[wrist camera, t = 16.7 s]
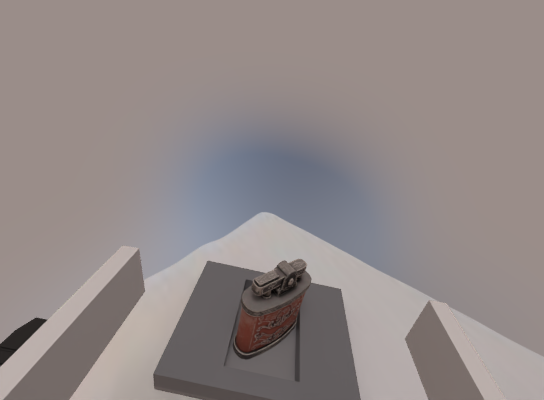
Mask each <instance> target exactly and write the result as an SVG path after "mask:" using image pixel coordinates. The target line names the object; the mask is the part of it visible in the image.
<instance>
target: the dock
mask: <svg viewBox="0 0 544 400" xmlns="http://www.w3.org/2000/svg"><path fill="white" fill-rule="evenodd" d="M263 274H265V273H263V272H258V271H253V270H249V269H244V268H239V267H235V266H230V265H225V264H221V263H216V262H211V261H207V263H206V266H205V268H204V270H203V272H202V274H201V276H200V278H199V280H198V282H197V284H196V286H195V288H194V290H193V293H192V295H191V297H190V299H189V301H188V303H187V305H186V307H185V309H184V311H183V313H182V315H181V318H180V320H179V322H178V324H177V326H176V328H175V330H174V332H173V334H172V336H171V338H170V340H169V342H168V345H167V347H166V349H165V351H164V353H163V355H162V357H161V359H160V361H159V363H158V365H157V367H156V370H155V372H154V374H153V375H154V388H155V389H157V390H162V391H167V392H171V393H176V394H181V395H185V396H190V397H194V398H199V399H204V400H361V399H360V394H359V388H358V382H357V377H356V371H355V366H354V360H353V354H352V349H351V343H350V338H349V332H348V326H347V321H346V315H345V310H344V304H343V298H342V293H341V289H338V288H333V287H328V286H324V285H319V284H314V283H311V284H310V287H309V288H308V290H307V291H306V292H305V295H304V298H303V301H302V303H301V306H300V309H299V312H298V315H297V317H296V318H297V322H296V325H295V328H294V329H293V330H292V332H291V333H290V334H289V335H288V336H287V337H286V338H285V339H284V340H282V341H281V342H280V343H279V344H278V345H276V346H275V347H273V348H272V349H270V350H268V351H266V352H265V353H263V354H261V355H258V356H256V357H253V358H251V359H248V360H244V359H241V358H239V357H238V356H237V355H236V354H235V352H234V350H233V342H234V338H235V335H236V334H237V330H238V325H239V320H240V315H241V309H242V306H241V299H242V294H243V292H244V291H245V290H246V289H248V288H249V287H250V286H252V283H253V280H254V279H255V278H257V277H259V276H261V275H263Z"/></svg>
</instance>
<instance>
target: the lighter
mask: <svg viewBox="0 0 544 400" xmlns="http://www.w3.org/2000/svg"><path fill="white" fill-rule="evenodd" d="M306 266H307V264H306V262H305V261H303V260H302V259H297V260H294V261H292V262H290V263H287V262H286V261H282V262H280V263H279V264H278V265H277V267H276V268H275V269H274V270H272V271H270V272H268V273H265V274H263V275H261V276H259V277H257V278H255V279H254V280H253V283H252V286H250V287H249V288H248V289H246V290H245V291H244V292H243V294H242V299H241V306H242V309H241V315H240V320H239V325H238V330H237V334H236V335H235V338H234V342H233V350H234V352H235V354H236V355H237V356H238V357H239V358H241V359H244V360H248V359H251V358H253V357H256V356H258V355H261V354H263V353H265V352H266V351H268V350H270V349H272V348H273V347H275V346H276V345H278V344H279V343H280V342H281V341H282V340H284V339H285V338H286V337H287V336H288V335H289V334H290V333H291V332H292V330H293V329H294V328H295V325H296V322H297V318H296V317H297V315H298V312H299V309H300V306H301V303H302V301H303V298H304V295H305V292H306V291H307V290H308V288H309V287H310V284H311V277H310V275H309V274H308V273H307V272H306V271H305V269H306Z"/></svg>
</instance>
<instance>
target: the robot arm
mask: <svg viewBox="0 0 544 400" xmlns="http://www.w3.org/2000/svg"><path fill="white" fill-rule="evenodd" d="M144 292H145V288H144V281H143V274H142V266H141V260H140V252H139V248H133V247H128V246H122V247H121V248H120V249H119V250H118V251H117V252H116V253H115V254H114V255H113V256H112V257H111V258H110V259H109V260H108V261H107V262H106V263H105V264H104V265H102V267H101V268H99V269H98V270H97V272H96V273H94V274H93V275H92V276H91V277H90V278H89V279H88V280H87V281H86V282H85V283H84V284H83V285H82V287H80V288H79V290H77V291H76V292H75V293H74V294H73V296H71V297H70V298H69V299H68V300H67V301H66V302H65V303H64V304H63V305H62V306H61V307H60V308H59V309H58V310H57V311H56V312H55V313H54V314H53V315H52V316H51V317H50V318H49V319H48V320H45V319H40V318H35V319H33V320H31V321H30V322H28V323H27V324H25V325H23V326H22V327H20V328H18V329H17V330H15V331H14V332H13V333H12V334H11V335H10V336H9V337H8V338H7V339H5V340H4V341H3V342H2V343H1V344H0V400H69V399H70V398H71V396H72V395H73V393H74V392H75V391H76V389H77V388H78V386H79V385H80V383H81V382H82V381H83V379H84V378H85V376H86V375H87V373H88V372H89V371H90V369H91V368H92V366H93V365H94V363H95V362H96V361H97V359H98V358H99V356H100V355H101V353H102V352H103V351H104V349H105V348H106V346H107V345H108V343H109V342H110V341H111V339H112V338H113V336H114V335H115V333H116V332H117V331H118V329H119V328H120V326H121V325H122V323H123V322H124V321H125V319H126V318H127V316H128V315H129V313H130V312H131V311H132V309H133V308H134V306H135V305H136V303H137V302H138V301H139V299H140V298H141V296H142V295H143V293H144ZM405 340H406V343H407V345H408V348H409V350H410V353H411V355H412V358H413V361H414V363H415V366H416V368H417V371H418V374H419V376H420V379H421V381H422V384H423V387H424V389H425V392H426V394H427V397H428V399H429V400H506V398H505V396H504V395H503V393H502V392H501V390H500V388H499V387H498V385H497V384H496V382H495V380H494V379H493V377H492V376H491V374H490V372H489V371H488V369H487V368H486V366H485V364H484V363H483V361H482V359H481V358H480V356H479V355H478V353H477V351H476V350H475V348H474V347H473V345H472V343H471V342H470V340H469V339H468V337H467V335H466V334H465V332H464V331H463V329H462V327H461V326H460V324H459V322H458V321H457V319H456V318H455V316H454V314H453V313H452V311H451V310H450V308H449V306H448V305H447V303H442V302H436V301H431V300H429V301H428V303H427V304H426V306H425V308H424V309H423V311H422V312H421V314H420V316H419V317H418V319H417V320H416V322H415V324H414V325H413V327H412V328H411V330H410V332H409V333H408V335H407V336H406V338H405Z"/></svg>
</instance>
